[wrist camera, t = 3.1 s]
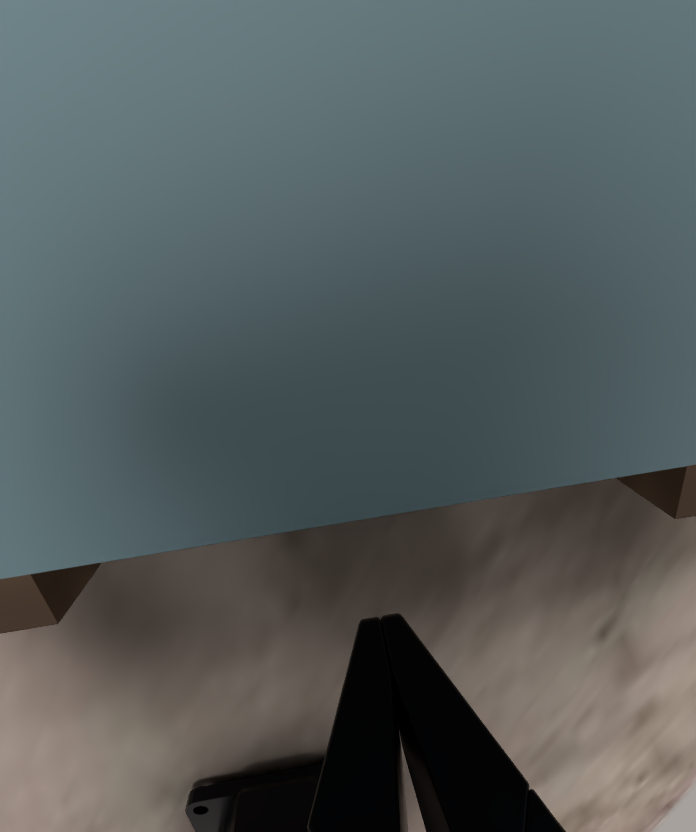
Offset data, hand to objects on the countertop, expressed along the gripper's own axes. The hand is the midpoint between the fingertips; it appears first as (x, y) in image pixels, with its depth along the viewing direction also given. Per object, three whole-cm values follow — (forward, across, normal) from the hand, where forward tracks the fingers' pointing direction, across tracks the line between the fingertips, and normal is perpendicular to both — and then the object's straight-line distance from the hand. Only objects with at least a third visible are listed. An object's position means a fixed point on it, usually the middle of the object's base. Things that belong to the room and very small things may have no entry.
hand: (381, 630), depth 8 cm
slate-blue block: (+2, 0, -7) cm, 7 cm away
